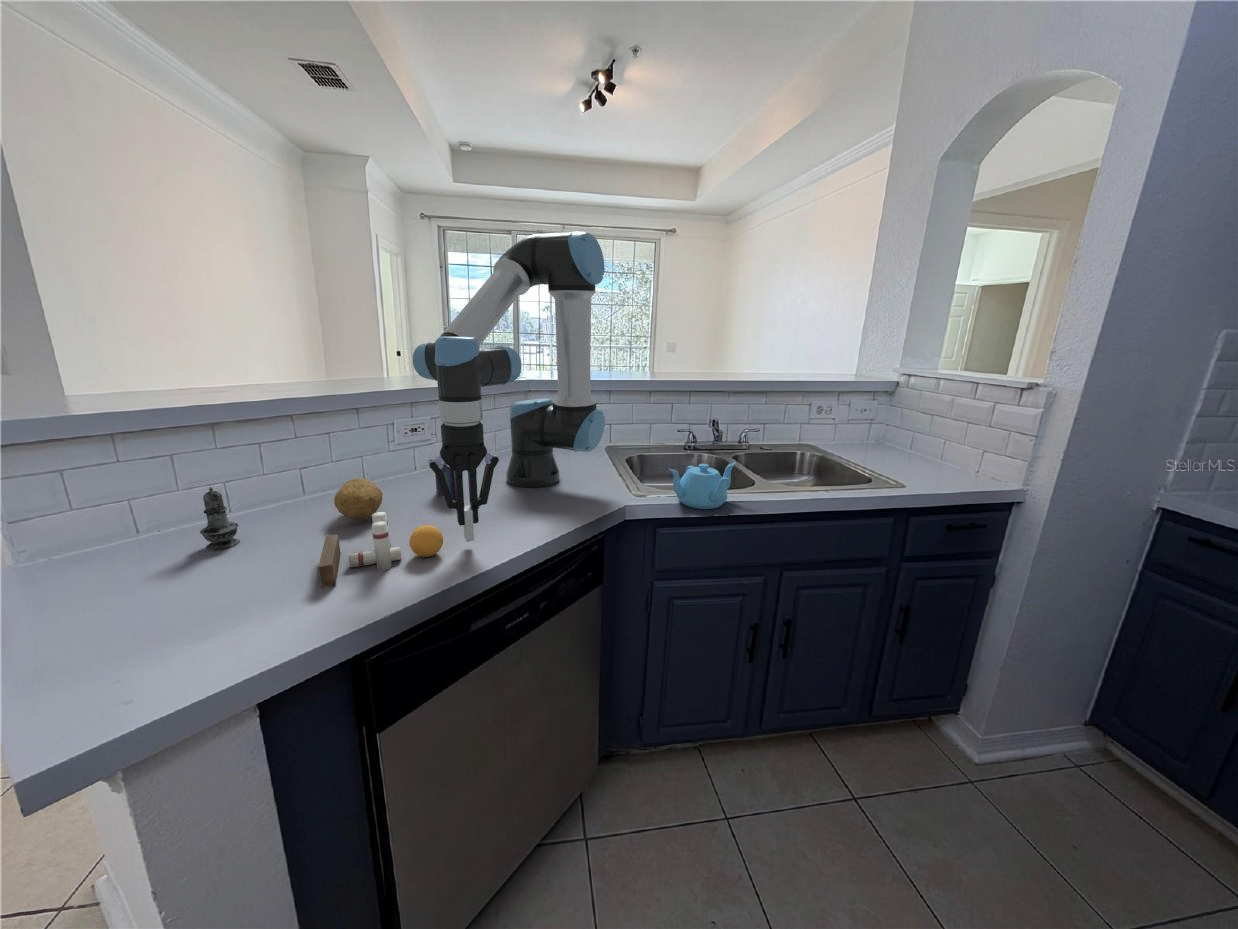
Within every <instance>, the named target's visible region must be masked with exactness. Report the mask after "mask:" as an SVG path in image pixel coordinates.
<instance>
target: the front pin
mask: <svg viewBox="0 0 1238 929" xmlns="http://www.w3.org/2000/svg"><path fill="white" fill-rule="evenodd" d="M401 553H402V552H401V546H396V547H390V555H391V562H393V561H394V562H395V561H400V560H402V554H401ZM348 565H349V568H356V567H365V566H369V565H377V563H376V555H375V549H374V550H368V551H359V552H356V553H348Z"/></svg>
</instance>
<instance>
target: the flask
mask: <svg viewBox="0 0 1238 929" xmlns="http://www.w3.org/2000/svg"><path fill="white" fill-rule="evenodd" d="M442 464H443V468H442V469H441V470H442V472H443V474H444V477H445V480H446V483H447V486H448V488H449V491H450V494H451V497H452V500H454V501H456V495H455V480H454V470H452V469H451V468H450V467H449V466H448V464H447V463H446V462H445V461H444V460H443V462H442ZM434 475H435V489H436V491H435V492H436V495H438V496H441V497H442V496H444V495H443V492H442V489H441V486H440V484H439V481H438V478H437V475H436V474H435V473H434Z"/></svg>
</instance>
